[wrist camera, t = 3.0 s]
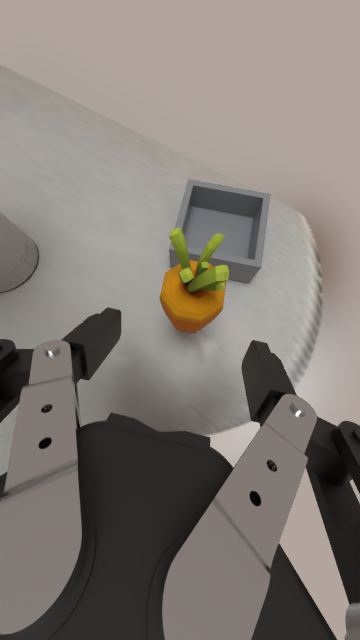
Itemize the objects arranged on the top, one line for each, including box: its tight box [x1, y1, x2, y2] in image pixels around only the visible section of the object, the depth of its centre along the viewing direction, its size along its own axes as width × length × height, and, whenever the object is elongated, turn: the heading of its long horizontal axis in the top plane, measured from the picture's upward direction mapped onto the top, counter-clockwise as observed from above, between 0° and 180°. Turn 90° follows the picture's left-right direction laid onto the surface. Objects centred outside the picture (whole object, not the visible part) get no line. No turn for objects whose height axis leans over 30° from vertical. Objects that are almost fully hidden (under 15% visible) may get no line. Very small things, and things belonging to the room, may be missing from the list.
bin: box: [169, 179, 270, 283], centre depth 25 cm, size 11×11×4 cm
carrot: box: [160, 228, 229, 333], centre depth 16 cm, size 5×5×15 cm
